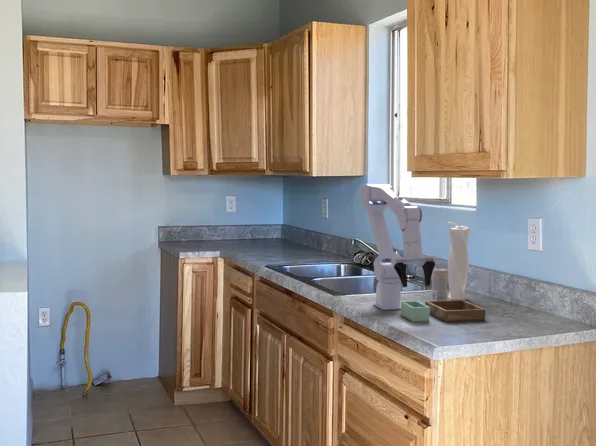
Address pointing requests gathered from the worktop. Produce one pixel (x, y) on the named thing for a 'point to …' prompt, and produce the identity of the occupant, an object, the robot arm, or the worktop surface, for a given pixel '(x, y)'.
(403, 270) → the robot arm
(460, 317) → the big crate
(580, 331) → the worktop surface
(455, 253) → the twisted white candle
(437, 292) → the energy drink
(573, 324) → the worktop surface
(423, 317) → the small crate
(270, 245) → the worktop surface
